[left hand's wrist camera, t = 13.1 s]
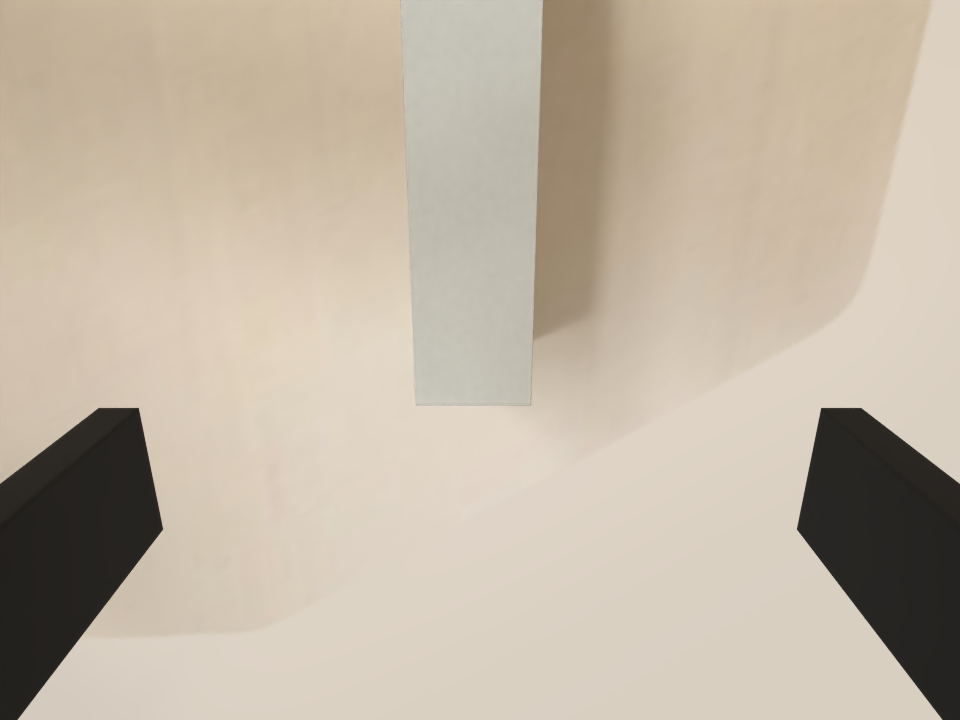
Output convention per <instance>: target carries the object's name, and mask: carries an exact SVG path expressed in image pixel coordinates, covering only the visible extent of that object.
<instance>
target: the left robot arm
mask: <svg viewBox="0 0 960 720" xmlns="http://www.w3.org/2000/svg"><path fill="white" fill-rule="evenodd" d="M162 530H163V527H162V522H161V517H160V512H159V507H158V502H157V497H156V492H155V487H154V482H153V477H152V472H151V467H150V462H149V457H148V452H147V447H146V442H145V437H144V432H143V427H142V422H141V417H140V412H139V408H98V409H97V410H96V411H94V412H93V413H92V414H91V415H89V416H88V417H87V418H85V419H84V420H83V421H81V422H80V423H79V424H78V425H76V426H75V427H74V428H72V429H71V430H70V431H68V432H67V433H66V434H65V435H63V436H62V437H61V438H59V439H58V440H57V441H55V442H54V443H53V444H52V445H50V446H49V447H48V448H46V449H45V450H44V451H42V452H41V453H40V454H39V455H37V456H36V457H35V458H33V459H32V460H31V461H29V462H28V463H27V464H26V465H24V466H23V467H22V468H20V469H19V470H18V471H16V472H15V473H14V474H13V475H11V476H10V477H9V478H7V479H6V480H5V481H3V482H2V483H1V484H0V720H18V718H19V717H20V716H21V714H22V713H23V712H24V710H25V709H26V708H27V707H28V705H29V704H30V703H31V701H32V700H33V699H34V697H35V696H36V695H37V693H38V692H39V691H40V690H41V688H42V687H43V686H44V684H45V683H46V682H47V680H48V679H49V678H50V676H51V675H52V674H53V673H54V671H55V670H56V669H57V667H58V666H59V665H60V663H61V662H62V661H63V660H64V658H65V657H66V656H67V654H68V653H69V652H70V650H71V649H72V648H73V646H74V645H75V644H76V643H77V641H78V640H79V639H80V637H81V636H82V635H83V633H84V632H85V631H86V629H87V628H88V627H89V626H90V624H91V623H92V622H93V620H94V619H95V618H96V616H97V615H98V614H99V612H100V611H101V610H102V609H103V607H104V606H105V605H106V603H107V602H108V601H109V599H110V598H111V597H112V595H113V594H114V593H115V592H116V590H117V589H118V588H119V586H120V585H121V584H122V582H123V581H124V580H125V578H126V577H127V576H128V575H129V573H130V572H131V571H132V569H133V568H134V567H135V565H136V564H137V563H138V561H139V560H140V559H141V558H142V556H143V555H144V554H145V552H146V551H147V550H148V548H149V547H150V546H151V544H152V543H153V542H154V541H155V539H156V538H157V537H158V535H159V534H160V533H161V531H162ZM797 530H798V531H799V533H800V534H801V535H802V537H803V538H804V539H805V541H806V542H807V543H808V544H809V546H810V547H811V548H812V550H813V551H814V552H815V554H816V555H817V556H818V557H819V559H820V560H821V561H822V563H823V564H824V565H825V567H826V568H827V569H828V571H829V572H830V573H831V575H832V576H833V577H834V578H835V580H836V581H837V582H838V584H839V585H840V586H841V588H842V589H843V590H844V592H845V593H846V594H847V595H848V597H849V598H850V599H851V601H852V602H853V603H854V605H855V606H856V607H857V609H858V610H859V611H860V612H861V614H862V615H863V616H864V618H865V619H866V620H867V622H868V623H869V624H870V626H871V627H872V628H873V629H874V631H875V632H876V633H877V635H878V636H879V637H880V639H881V640H882V641H883V643H884V644H885V645H886V646H887V648H888V649H889V650H890V652H891V653H892V654H893V656H894V657H895V658H896V660H897V661H898V662H899V663H900V665H901V666H902V667H903V669H904V670H905V671H906V673H907V674H908V675H909V677H910V678H911V679H912V680H913V682H914V683H915V684H916V686H917V687H918V688H919V690H920V691H921V692H922V693H923V695H924V696H925V697H926V699H927V700H928V701H929V703H930V704H931V705H932V707H933V708H934V709H935V710H936V712H937V713H938V714H939V716H940V717H941V718H942V720H960V484H959V483H958V482H957V481H955V480H954V479H953V478H951V477H950V476H949V475H947V474H946V473H945V472H943V471H942V470H941V469H940V468H938V467H937V466H936V465H934V464H933V463H932V462H931V461H929V460H928V459H927V458H925V457H924V456H923V455H921V454H920V453H919V452H918V451H916V450H915V449H914V448H912V447H911V446H910V445H908V444H907V443H906V442H905V441H903V440H902V439H901V438H899V437H898V436H897V435H895V434H894V433H893V432H892V431H890V430H889V429H888V428H886V427H885V426H884V425H882V424H881V423H880V422H879V421H877V420H876V419H875V418H873V417H872V416H871V415H869V414H868V413H867V412H866V411H864V410H863V409H862V408H821V412H820V417H819V422H818V427H817V432H816V437H815V442H814V447H813V452H812V457H811V462H810V467H809V472H808V477H807V482H806V487H805V492H804V497H803V502H802V507H801V512H800V517H799V522H798V527H797Z"/></svg>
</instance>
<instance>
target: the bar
mask: <svg viewBox="0 0 960 720" xmlns="http://www.w3.org/2000/svg"><path fill="white" fill-rule="evenodd" d="M401 27H402V54H403V81H404V107H405V134H406V161H407V188H408V215H409V242H410V268H411V295H412V322H413V349H414V376H415V403H416V405H531V390H532V357H533V324H534V291H535V258H536V225H537V192H538V159H539V126H540V93H541V61H542V28H543V0H401Z"/></svg>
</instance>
